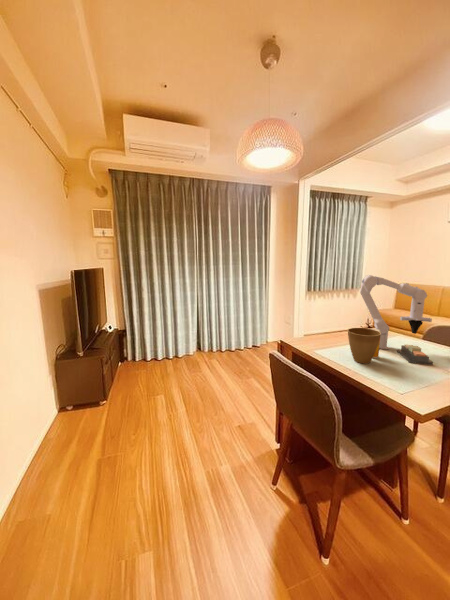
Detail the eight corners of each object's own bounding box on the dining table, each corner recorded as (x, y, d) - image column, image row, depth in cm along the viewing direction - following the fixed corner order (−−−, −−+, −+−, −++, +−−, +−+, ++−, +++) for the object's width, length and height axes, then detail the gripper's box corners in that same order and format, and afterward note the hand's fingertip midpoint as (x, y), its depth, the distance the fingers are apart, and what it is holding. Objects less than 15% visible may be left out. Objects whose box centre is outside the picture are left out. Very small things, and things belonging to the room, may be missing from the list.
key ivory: (407, 352, 134) (407, 346, 134) (404, 349, 138) (404, 344, 138) (415, 352, 133) (416, 347, 133) (412, 350, 137) (412, 345, 136)
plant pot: (372, 356, 133) (375, 328, 130) (382, 368, 119) (385, 336, 116) (342, 354, 137) (345, 326, 134) (348, 365, 123) (351, 334, 120)
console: (409, 362, 125) (410, 355, 124) (396, 351, 140) (397, 345, 139) (432, 365, 122) (433, 357, 121) (417, 353, 137) (418, 346, 137)
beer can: (380, 358, 130) (382, 331, 127) (367, 358, 131) (370, 331, 129) (375, 354, 136) (378, 328, 133) (363, 353, 137) (366, 328, 134)
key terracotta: (415, 359, 124) (416, 353, 124) (412, 356, 128) (413, 351, 128) (425, 360, 123) (426, 354, 123) (421, 357, 127) (422, 351, 127)
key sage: (411, 353, 129) (412, 347, 129) (408, 350, 133) (409, 345, 132) (420, 354, 128) (421, 348, 128) (416, 351, 132) (417, 345, 131)
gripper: (405, 310, 136) (402, 334, 138) (436, 312, 132) (432, 336, 134) (399, 308, 143) (397, 330, 145) (429, 309, 139) (426, 332, 141)
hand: (413, 333), depth 140 cm, fingers closed
